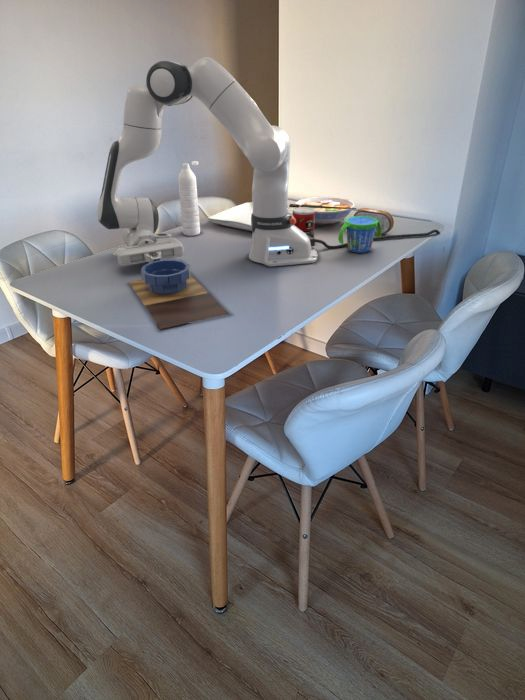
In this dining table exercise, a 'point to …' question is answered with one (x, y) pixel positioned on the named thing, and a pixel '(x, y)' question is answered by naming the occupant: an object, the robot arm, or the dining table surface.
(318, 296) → the dining table surface
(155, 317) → the mat
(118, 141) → the robot arm
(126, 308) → the dining table surface
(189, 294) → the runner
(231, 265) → the dining table surface
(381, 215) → the tin
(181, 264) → the bowl
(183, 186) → the water bottle
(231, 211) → the square plate
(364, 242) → the snack cup
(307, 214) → the canned food
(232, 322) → the dining table surface
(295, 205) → the ramen bowl
